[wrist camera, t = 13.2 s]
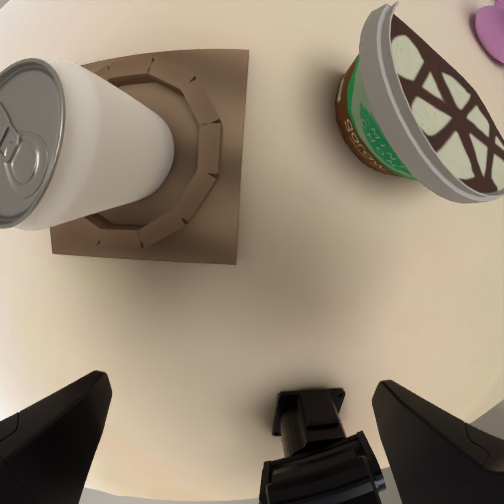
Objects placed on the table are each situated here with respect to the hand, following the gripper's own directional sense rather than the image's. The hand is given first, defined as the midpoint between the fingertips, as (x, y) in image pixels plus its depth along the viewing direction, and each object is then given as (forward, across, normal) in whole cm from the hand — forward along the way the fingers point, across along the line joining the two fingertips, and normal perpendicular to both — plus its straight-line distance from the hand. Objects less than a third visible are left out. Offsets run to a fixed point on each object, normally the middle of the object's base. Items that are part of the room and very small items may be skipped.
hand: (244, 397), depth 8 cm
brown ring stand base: (+13, +8, -8) cm, 17 cm away
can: (+12, +8, -8) cm, 17 cm away
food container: (+13, -9, -10) cm, 19 cm away
